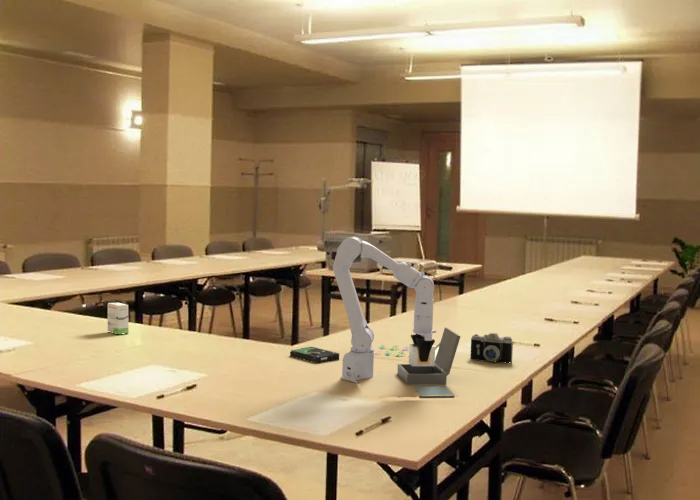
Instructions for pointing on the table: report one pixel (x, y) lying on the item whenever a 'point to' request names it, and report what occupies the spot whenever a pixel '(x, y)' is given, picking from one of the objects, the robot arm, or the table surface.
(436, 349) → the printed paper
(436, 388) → the mat
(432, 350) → the module
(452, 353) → the case
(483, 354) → the camera
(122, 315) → the ink box
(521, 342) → the table surface
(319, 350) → the disk drive
